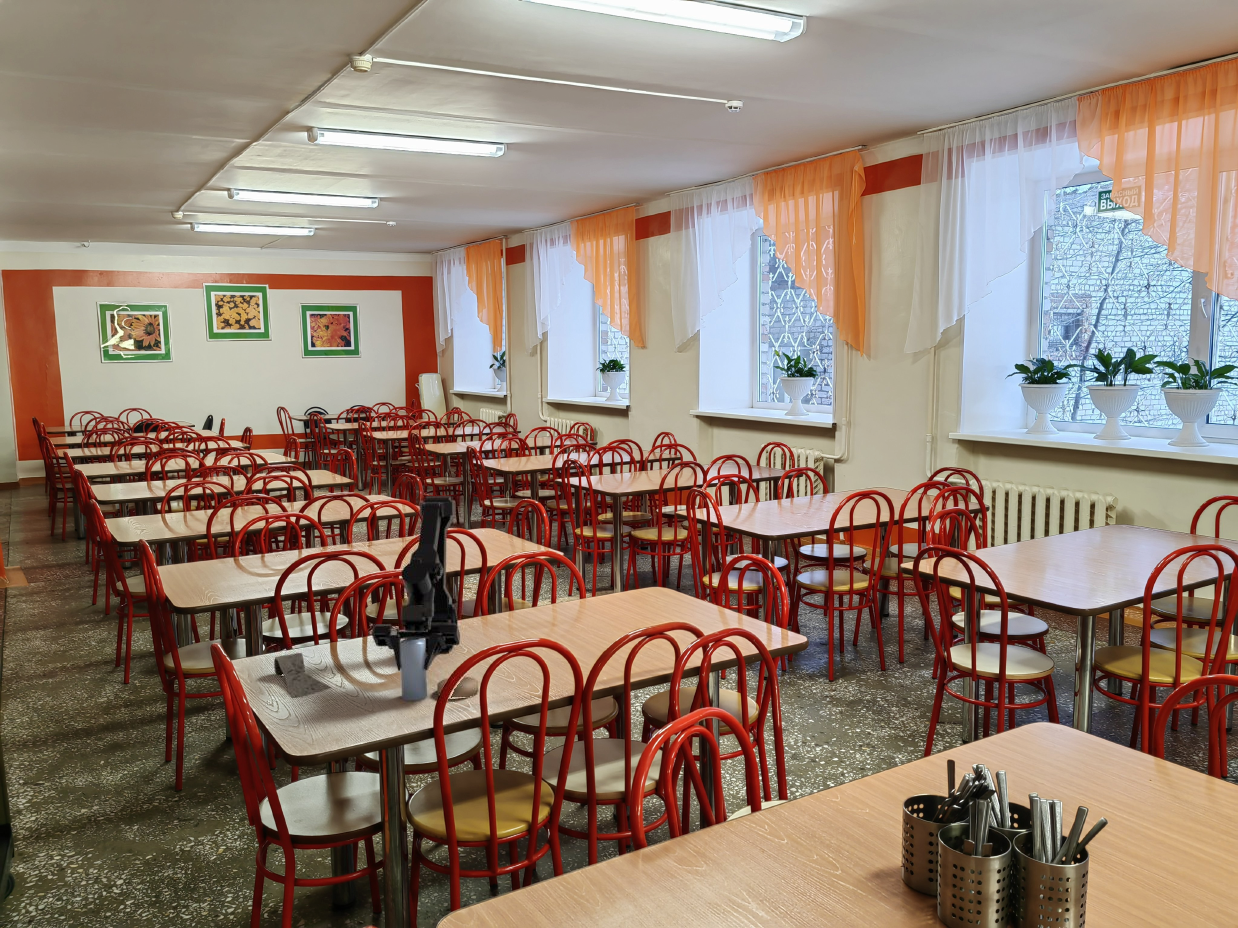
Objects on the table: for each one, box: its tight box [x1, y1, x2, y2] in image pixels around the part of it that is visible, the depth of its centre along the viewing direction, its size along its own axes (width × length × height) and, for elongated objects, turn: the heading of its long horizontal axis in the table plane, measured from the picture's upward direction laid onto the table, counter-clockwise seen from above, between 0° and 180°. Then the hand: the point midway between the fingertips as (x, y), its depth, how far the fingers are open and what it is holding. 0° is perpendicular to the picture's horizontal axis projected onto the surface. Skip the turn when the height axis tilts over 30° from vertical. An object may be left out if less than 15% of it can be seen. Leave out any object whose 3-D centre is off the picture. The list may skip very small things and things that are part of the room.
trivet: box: [436, 676, 479, 698], centre depth 209 cm, size 9×9×2 cm
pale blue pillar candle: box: [400, 638, 428, 702], centre depth 206 cm, size 5×5×12 cm
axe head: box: [273, 652, 332, 700], centre depth 216 cm, size 21×5×10 cm
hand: (412, 669), depth 204 cm, fingers open, 6 cm apart
